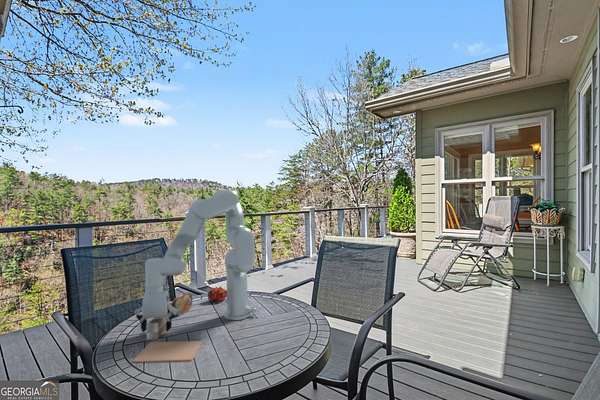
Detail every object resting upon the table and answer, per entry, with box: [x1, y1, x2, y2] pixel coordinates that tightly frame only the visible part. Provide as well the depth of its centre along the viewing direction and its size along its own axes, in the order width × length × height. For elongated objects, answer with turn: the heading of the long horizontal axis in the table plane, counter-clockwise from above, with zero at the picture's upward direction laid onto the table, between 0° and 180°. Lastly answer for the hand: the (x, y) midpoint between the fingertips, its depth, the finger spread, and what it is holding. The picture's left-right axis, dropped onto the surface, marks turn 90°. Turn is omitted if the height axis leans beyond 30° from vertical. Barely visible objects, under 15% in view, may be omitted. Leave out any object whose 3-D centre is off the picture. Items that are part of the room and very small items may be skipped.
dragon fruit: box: [207, 286, 227, 303], centre depth 172 cm, size 8×8×12 cm
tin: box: [170, 292, 193, 317], centre depth 156 cm, size 15×3×8 cm, turn 168°
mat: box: [132, 340, 204, 363], centre depth 116 cm, size 20×14×1 cm
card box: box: [146, 317, 167, 341], centre depth 131 cm, size 4×9×6 cm, turn 2°
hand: (156, 330), depth 131 cm, fingers open, 9 cm apart
